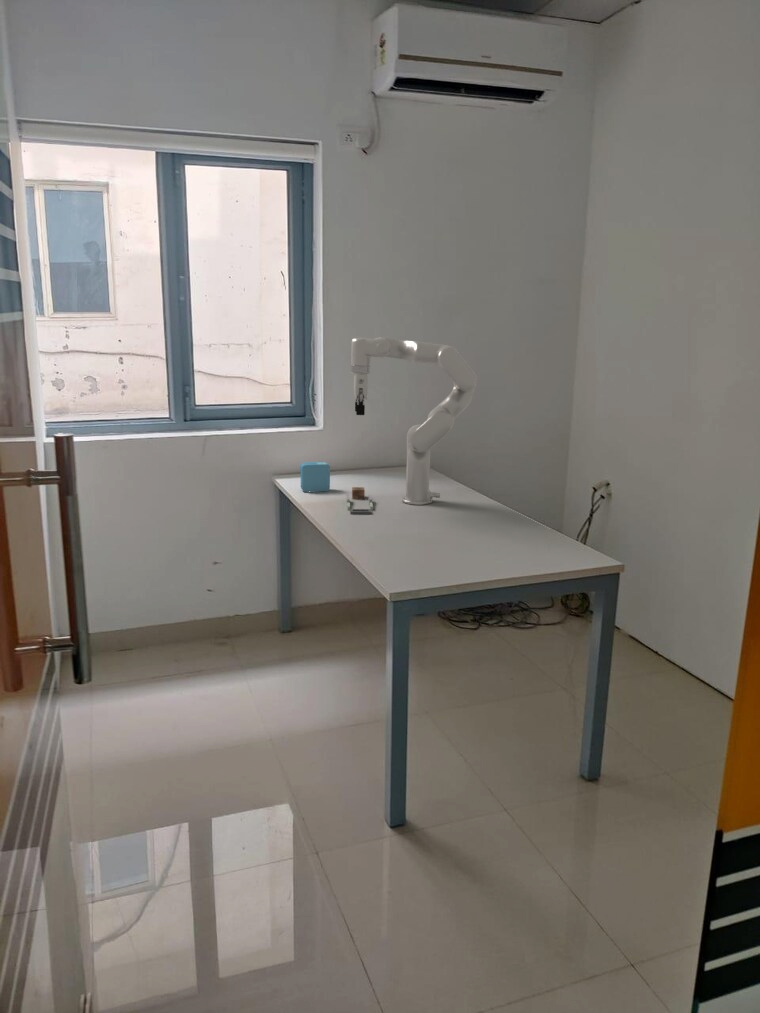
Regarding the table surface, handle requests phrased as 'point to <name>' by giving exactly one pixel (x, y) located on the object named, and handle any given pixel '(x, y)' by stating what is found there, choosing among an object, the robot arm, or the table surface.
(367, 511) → the tray
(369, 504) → the walled lane
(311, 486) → the data package
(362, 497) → the walnut block
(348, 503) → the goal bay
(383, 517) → the table surface
